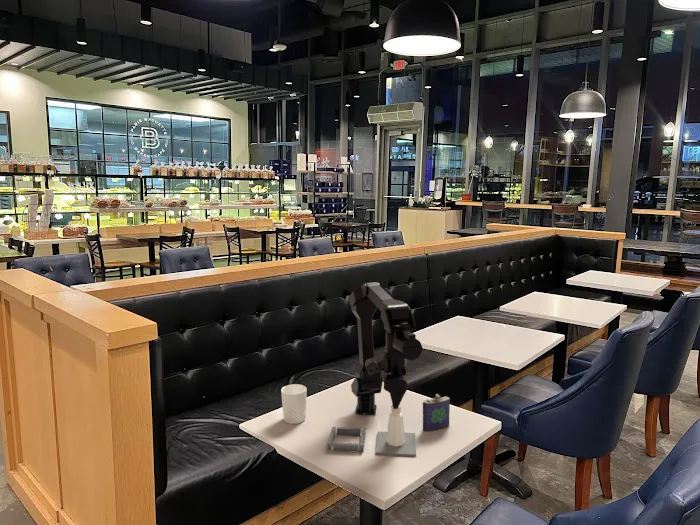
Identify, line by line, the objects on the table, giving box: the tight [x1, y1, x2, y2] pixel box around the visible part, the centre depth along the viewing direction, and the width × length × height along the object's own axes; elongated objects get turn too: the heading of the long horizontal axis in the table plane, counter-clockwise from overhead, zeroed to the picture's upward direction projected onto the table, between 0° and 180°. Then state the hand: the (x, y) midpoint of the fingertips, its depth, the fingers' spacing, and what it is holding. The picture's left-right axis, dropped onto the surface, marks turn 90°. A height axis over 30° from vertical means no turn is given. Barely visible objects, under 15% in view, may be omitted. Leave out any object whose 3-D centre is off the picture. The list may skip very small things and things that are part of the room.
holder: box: [327, 426, 367, 453], centre depth 150 cm, size 10×10×2 cm
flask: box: [422, 393, 451, 433], centre depth 158 cm, size 9×3×11 cm, turn 114°
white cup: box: [280, 383, 308, 425], centre depth 164 cm, size 8×8×10 cm
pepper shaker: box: [386, 404, 406, 447], centre depth 148 cm, size 5×5×11 cm
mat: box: [375, 430, 417, 457], centre depth 149 cm, size 12×11×1 cm
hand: (395, 401), depth 147 cm, fingers open, 9 cm apart
